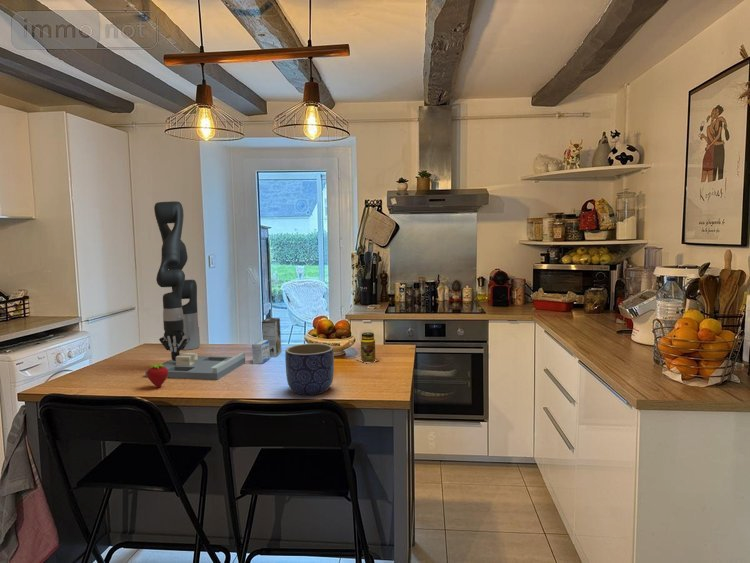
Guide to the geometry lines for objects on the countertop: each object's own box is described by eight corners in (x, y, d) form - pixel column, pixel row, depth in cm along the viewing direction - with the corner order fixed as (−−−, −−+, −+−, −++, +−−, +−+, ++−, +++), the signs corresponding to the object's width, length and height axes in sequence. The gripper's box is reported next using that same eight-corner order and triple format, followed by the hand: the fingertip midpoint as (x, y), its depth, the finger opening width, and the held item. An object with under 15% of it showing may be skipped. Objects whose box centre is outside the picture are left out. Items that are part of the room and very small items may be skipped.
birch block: (184, 361, 201) (184, 353, 201) (197, 361, 200) (197, 353, 200) (176, 365, 195) (175, 356, 195) (189, 365, 194) (189, 357, 194)
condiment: (365, 364, 201) (365, 335, 200) (354, 360, 208) (354, 332, 207) (380, 361, 205) (379, 333, 204) (369, 357, 212) (368, 330, 211)
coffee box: (267, 352, 225) (266, 317, 223) (281, 352, 224) (280, 317, 223) (262, 357, 215) (261, 321, 214) (277, 357, 215) (275, 321, 214)
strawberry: (153, 384, 179) (152, 357, 178) (172, 385, 177) (171, 358, 176) (143, 389, 173) (142, 362, 172) (163, 390, 172) (161, 362, 171)
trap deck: (181, 360, 212) (180, 350, 211) (245, 362, 206) (244, 352, 206) (145, 377, 188) (145, 365, 188) (217, 379, 183) (216, 368, 182)
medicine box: (262, 364, 204) (261, 344, 203) (252, 364, 205) (251, 343, 204) (270, 359, 212) (269, 340, 211) (260, 359, 212) (259, 339, 212)
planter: (344, 389, 170) (343, 347, 168) (308, 401, 157) (306, 357, 156) (313, 380, 181) (311, 340, 179) (276, 391, 168) (275, 349, 167)
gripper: (193, 317, 199) (195, 358, 201) (164, 316, 202) (166, 357, 203) (182, 320, 192) (185, 363, 193) (152, 319, 194) (155, 362, 196)
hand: (175, 360), depth 198 cm, fingers closed
